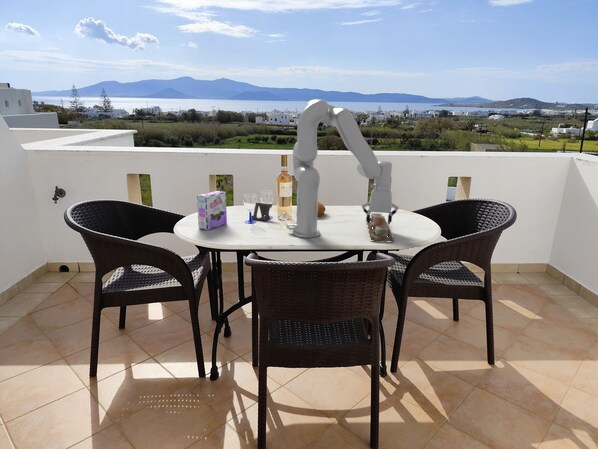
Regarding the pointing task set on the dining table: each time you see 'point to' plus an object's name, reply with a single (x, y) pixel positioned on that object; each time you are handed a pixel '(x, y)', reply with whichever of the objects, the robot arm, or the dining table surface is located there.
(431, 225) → the dining table surface
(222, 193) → the candy box
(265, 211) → the portable electronic device stand
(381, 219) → the terracotta block
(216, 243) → the dining table surface
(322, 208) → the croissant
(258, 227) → the dining table surface
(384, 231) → the walnut puzzle base
